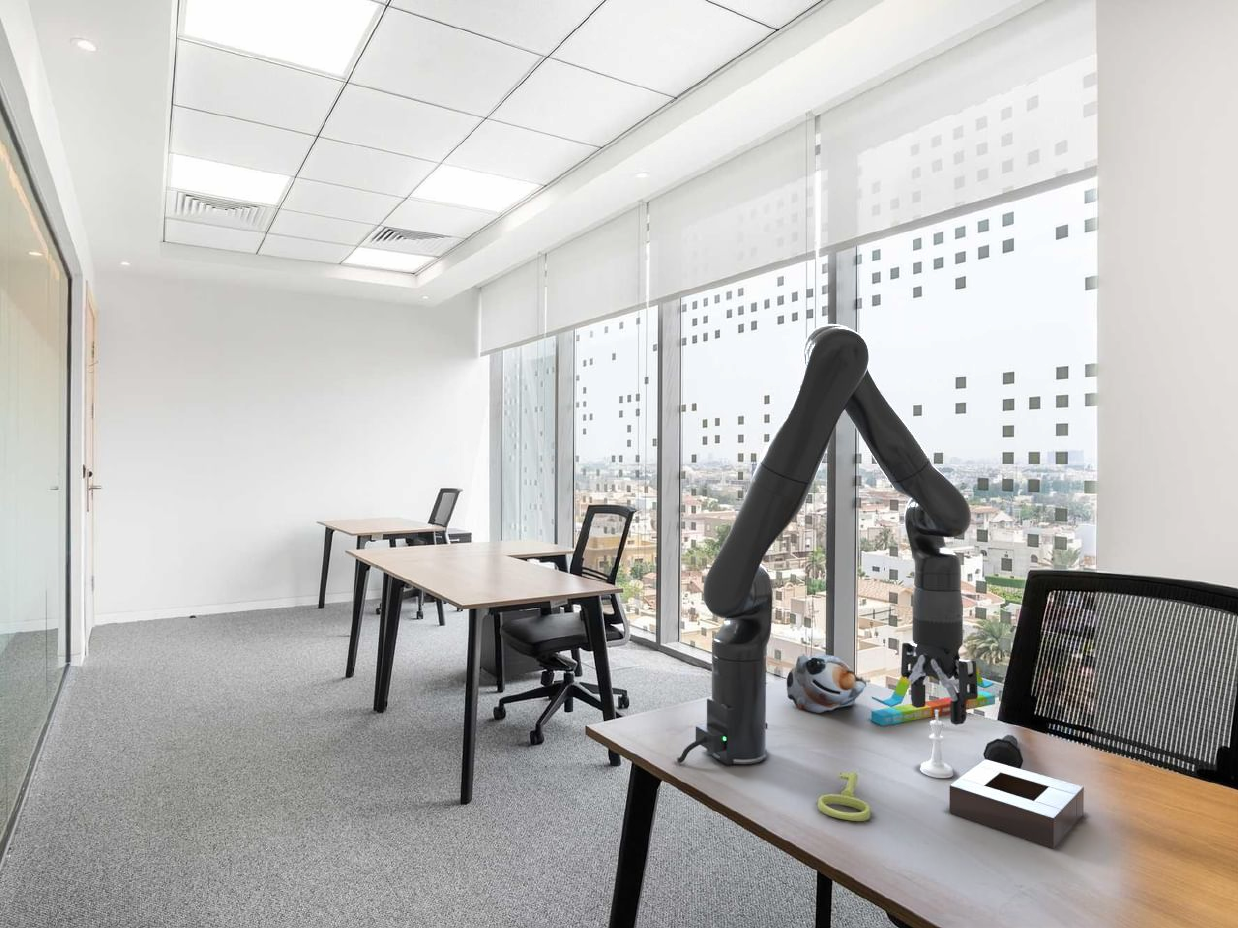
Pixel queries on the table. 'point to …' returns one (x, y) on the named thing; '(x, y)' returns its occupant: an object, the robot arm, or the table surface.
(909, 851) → the table surface
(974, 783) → the holder
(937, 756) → the chess piece
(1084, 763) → the table surface
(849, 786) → the key
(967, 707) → the chart
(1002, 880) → the table surface
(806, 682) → the lucky cat figurine
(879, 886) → the table surface
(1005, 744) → the microphone
